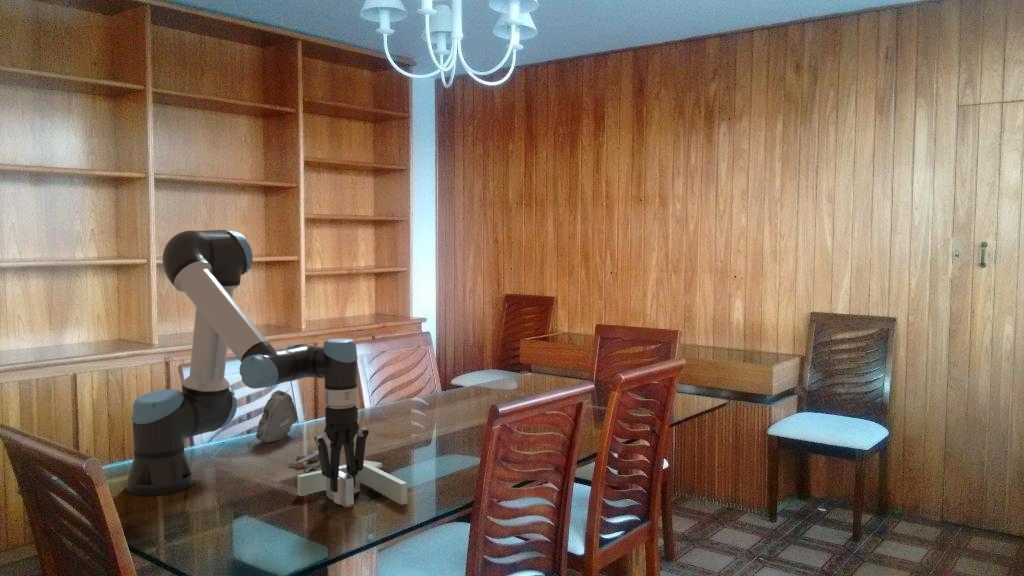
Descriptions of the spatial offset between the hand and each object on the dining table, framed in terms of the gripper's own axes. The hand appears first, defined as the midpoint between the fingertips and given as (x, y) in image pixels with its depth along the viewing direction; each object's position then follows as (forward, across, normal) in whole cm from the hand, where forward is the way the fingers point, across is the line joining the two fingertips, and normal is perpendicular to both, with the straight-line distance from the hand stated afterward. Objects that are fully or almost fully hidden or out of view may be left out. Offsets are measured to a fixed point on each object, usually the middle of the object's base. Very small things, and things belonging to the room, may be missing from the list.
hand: (343, 502), depth 190 cm
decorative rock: (0, +10, +62) cm, 63 cm away
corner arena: (0, +3, +2) cm, 3 cm away
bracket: (0, +3, +2) cm, 3 cm away
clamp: (+1, +6, +34) cm, 35 cm away
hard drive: (+1, +14, +20) cm, 25 cm away
